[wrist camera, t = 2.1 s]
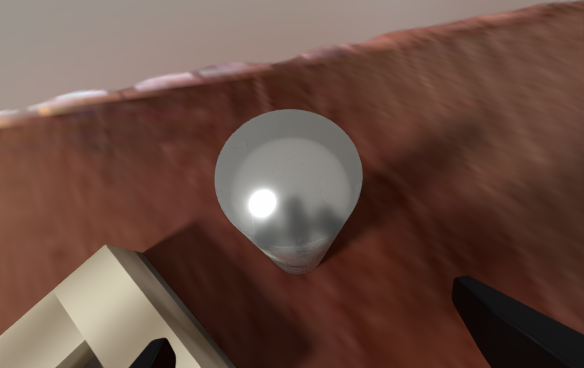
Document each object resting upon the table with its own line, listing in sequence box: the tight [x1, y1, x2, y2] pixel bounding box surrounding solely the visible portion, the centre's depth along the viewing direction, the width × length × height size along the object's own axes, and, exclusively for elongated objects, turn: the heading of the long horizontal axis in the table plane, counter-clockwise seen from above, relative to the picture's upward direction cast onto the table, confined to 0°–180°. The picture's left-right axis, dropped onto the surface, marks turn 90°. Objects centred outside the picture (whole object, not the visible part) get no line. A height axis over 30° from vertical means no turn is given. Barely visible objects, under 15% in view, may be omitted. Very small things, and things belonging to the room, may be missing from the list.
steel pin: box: [215, 109, 362, 275], centre depth 13 cm, size 4×4×14 cm
